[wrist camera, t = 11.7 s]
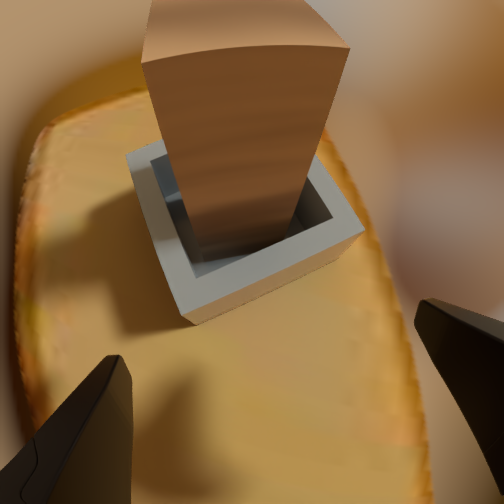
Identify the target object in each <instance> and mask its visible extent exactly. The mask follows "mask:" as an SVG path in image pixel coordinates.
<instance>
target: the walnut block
mask: <svg viewBox="0 0 504 504" xmlns="http://www.w3.org/2000/svg"><path fill="white" fill-rule="evenodd" d="M349 51H350V47H349V46H348V45H347V44H346V43H345V41H344V40H342V38H341V37H340V36H339V35H338V34H337V33H336V32H335V31H334V30H333V28H332V27H331V26H330V25H329V24H328V23H327V22H326V21H325V20H324V19H323V18H322V17H321V16H320V15H319V14H318V13H317V12H316V11H315V10H314V9H313V8H312V7H311V6H309V5H308V4H307V3H306V2H305V1H304V0H152V4H151V8H150V13H149V18H148V23H147V30H146V35H145V40H144V47H143V53H142V61H141V64H142V68H143V72H144V76H145V79H146V83H147V87H148V90H149V94H150V97H151V101H152V104H153V108H154V111H155V114H156V118H157V121H158V125H159V128H160V131H161V134H162V138H163V141H164V144H165V147H166V151H167V154H168V157H169V160H170V163H171V166H172V169H173V172H174V175H175V178H176V182H177V185H178V188H179V191H180V193H181V196H182V199H183V202H184V205H185V208H186V211H187V214H188V217H189V220H190V223H191V225H192V228H193V231H194V234H195V237H196V239H197V242H198V245H199V248H200V250H201V253H202V256H203V259H204V261H205V262H208V261H214V260H219V259H225V258H230V257H235V256H241V255H246V254H252V253H256V252H258V251H260V250H262V249H265V248H267V247H269V246H271V245H274V244H276V243H278V242H280V241H283V240H284V238H285V235H286V232H287V230H288V227H289V224H290V222H291V219H292V216H293V213H294V211H295V208H296V205H297V203H298V200H299V197H300V194H301V192H302V189H303V186H304V183H305V180H306V178H307V175H308V172H309V169H310V166H311V164H312V161H313V158H314V155H315V152H316V149H317V146H318V144H319V141H320V138H321V135H322V132H323V129H324V126H325V123H326V120H327V117H328V115H329V111H330V109H331V106H332V103H333V100H334V97H335V94H336V91H337V88H338V85H339V82H340V78H341V75H342V72H343V69H344V66H345V63H346V60H347V57H348V54H349Z"/></svg>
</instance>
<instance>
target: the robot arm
mask: <svg viewBox="0 0 504 504" xmlns="http://www.w3.org/2000/svg"><path fill="white" fill-rule="evenodd" d="M414 326H415V329H416V330H417V332H418V334H419V336H420V338H421V340H422V342H423V344H424V346H425V348H426V350H427V352H428V354H429V356H430V358H431V360H432V362H433V364H434V365H435V367H436V369H437V370H438V372H439V374H440V375H441V377H442V378H443V380H444V382H445V384H446V385H447V387H448V389H449V390H450V392H451V394H452V396H453V397H454V399H455V401H456V403H457V405H458V406H459V408H460V410H461V412H462V413H463V415H464V417H465V419H466V421H467V423H468V425H469V427H470V429H471V431H472V432H473V434H474V436H475V438H476V440H477V442H478V444H479V446H480V449H481V450H482V453H483V455H484V457H485V459H486V462H487V464H488V466H489V468H490V471H491V473H492V475H493V477H494V480H495V482H496V484H497V487H498V489H499V492H500V494H501V496H503V495H504V322H501V321H498V320H495V319H493V318H490V317H487V316H484V315H481V314H478V313H475V312H472V311H470V310H467V309H463V308H461V307H458V306H455V305H452V304H449V303H446V302H443V301H440V300H437V299H435V298H431V297H429V298H426V299H423V300H421V301H420V302H419V304H418V308H417V312H416V315H415V319H414ZM132 445H133V402H132V378H131V375H130V373H129V370H128V368H127V366H126V364H125V362H124V360H123V358H122V356H120V355H107V356H106V357H105V358H104V359H103V360H102V361H101V362H100V363H99V364H98V365H97V366H96V367H95V368H94V369H93V370H92V371H91V372H90V374H89V375H88V376H87V377H86V378H85V379H84V380H83V381H82V382H81V383H80V384H79V385H78V387H77V388H76V389H75V390H74V391H73V392H72V393H71V394H70V395H69V396H68V397H67V399H66V400H65V401H64V402H63V403H62V404H61V405H60V406H59V407H58V408H57V410H56V411H55V412H54V413H53V414H52V415H51V416H50V417H49V419H48V420H47V421H46V422H45V423H44V424H43V425H42V426H41V428H40V429H39V430H38V431H37V432H36V433H35V434H34V437H32V438H31V439H30V440H29V441H28V443H27V444H26V445H25V446H24V447H23V448H22V449H21V450H20V451H19V453H18V454H17V455H16V456H15V457H14V458H13V459H12V460H11V461H10V462H9V463H8V464H7V465H6V466H5V467H4V468H3V469H2V470H1V471H0V504H131V466H132Z"/></svg>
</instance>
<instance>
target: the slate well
mask: <svg viewBox="0 0 504 504" xmlns="http://www.w3.org/2000/svg"><path fill="white" fill-rule="evenodd" d="M126 159H127V163H128V166H129V170H130V173H131V177H132V180H133V183H134V187H135V190H136V193H137V196H138V200H139V203H140V206H141V209H142V212H143V215H144V218H145V221H146V224H147V227H148V230H149V233H150V236H151V239H152V241H153V244H154V247H155V250H156V253H157V255H158V258H159V261H160V263H161V266H162V269H163V271H164V274H165V277H166V279H167V282H168V284H169V287H170V289H171V292H172V294H173V297H174V299H175V302H176V304H177V307H178V309H179V311H180V314H181V316H183V317H184V318H186V319H187V320H189V321H191V322H192V323H194V324H195V325H199V324H201V323H204V322H206V321H208V320H210V319H213V318H215V317H217V316H219V315H222V314H224V313H226V312H228V311H231V310H233V309H235V308H237V307H239V306H242V305H244V304H246V303H248V302H250V301H252V300H255V299H257V298H259V297H261V296H263V295H265V294H267V293H269V292H272V291H274V290H276V289H278V288H280V287H282V286H284V285H286V284H288V283H290V282H292V281H295V280H297V279H299V278H301V277H303V276H305V275H307V274H309V273H311V272H313V271H315V270H317V269H319V268H321V267H323V266H325V265H327V264H329V263H331V262H333V261H335V260H337V259H338V258H339V257H340V256H341V255H342V254H343V253H344V252H345V251H346V250H347V249H348V248H349V247H350V246H351V244H352V243H353V242H354V241H355V240H356V239H357V238H358V237H359V236H360V235H361V234H362V233H363V232H364V231H365V229H364V227H363V225H362V224H361V222H360V220H359V219H358V217H357V216H356V214H355V212H354V211H353V209H352V208H351V206H350V204H349V203H348V201H347V200H346V198H345V197H344V195H343V194H342V192H341V191H340V189H339V188H338V186H337V185H336V183H335V182H334V180H333V179H332V177H331V176H330V174H329V173H328V171H327V170H326V169H325V167H324V166H323V164H322V163H321V162H320V160H319V159H318V157H317V156H316V155H314V158H313V161H312V164H311V166H310V169H309V172H308V175H307V178H306V180H305V183H304V186H303V189H302V192H301V194H300V197H299V200H298V203H297V205H296V208H295V211H294V213H293V216H292V219H291V222H290V224H289V227H288V230H287V232H286V235H285V238H284V240H283V241H280V242H278V243H276V244H274V245H271V246H269V247H267V248H265V249H262V250H260V251H258V252H256V253H252V254H246V255H241V256H235V257H230V258H225V259H219V260H214V261H208V262H205V261H204V259H203V256H202V253H201V250H200V248H199V245H198V242H197V239H196V237H195V234H194V231H193V228H192V225H191V223H190V220H189V217H188V214H187V211H186V208H185V205H184V202H183V199H182V196H181V193H180V191H179V188H178V185H177V182H176V178H175V175H174V172H173V169H172V166H171V163H170V160H169V157H168V154H167V151H166V147H165V144H164V141H163V139H161V140H159V141H156V142H154V143H151V144H149V145H147V146H144V147H142V148H140V149H137V150H135V151H133V152H130V153H128V154H126Z"/></svg>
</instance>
